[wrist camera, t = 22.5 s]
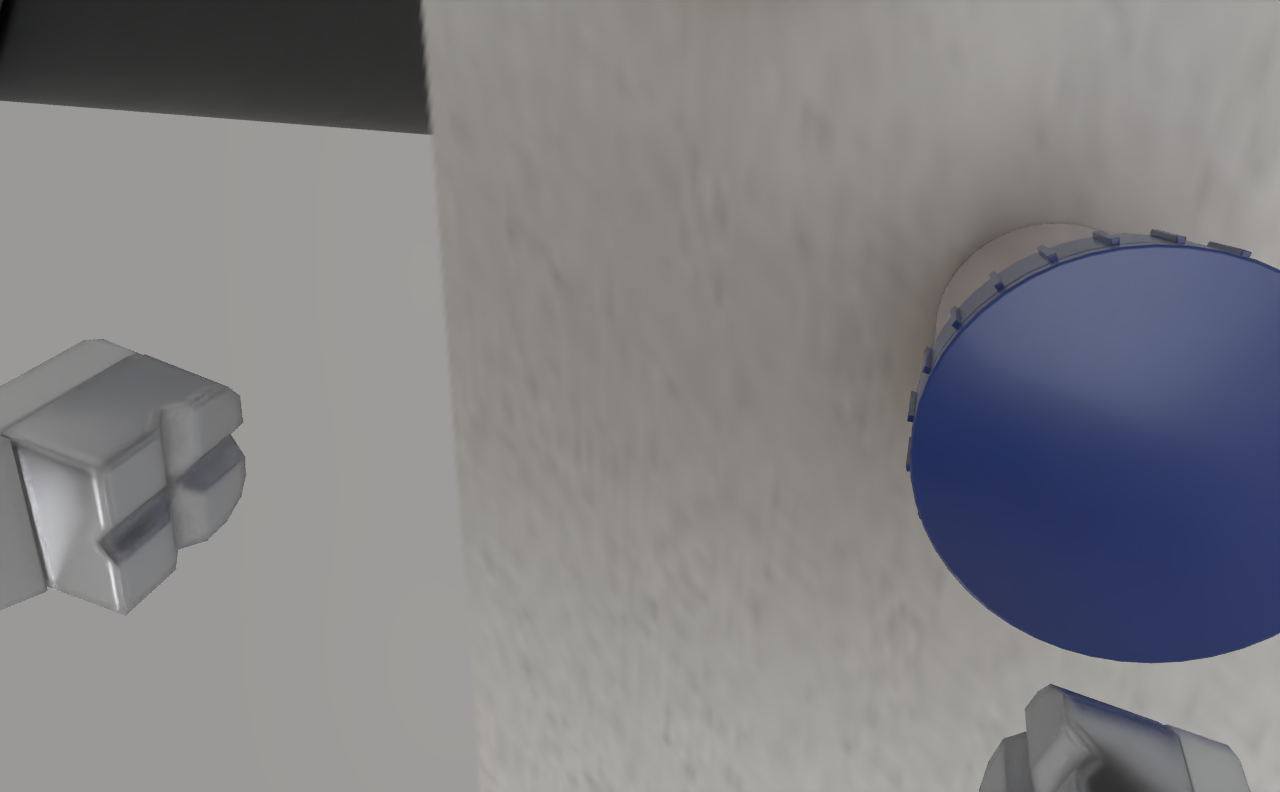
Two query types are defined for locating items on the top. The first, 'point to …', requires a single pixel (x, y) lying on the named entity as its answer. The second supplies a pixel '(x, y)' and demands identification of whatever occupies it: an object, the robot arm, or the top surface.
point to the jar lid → (1111, 447)
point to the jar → (1002, 260)
